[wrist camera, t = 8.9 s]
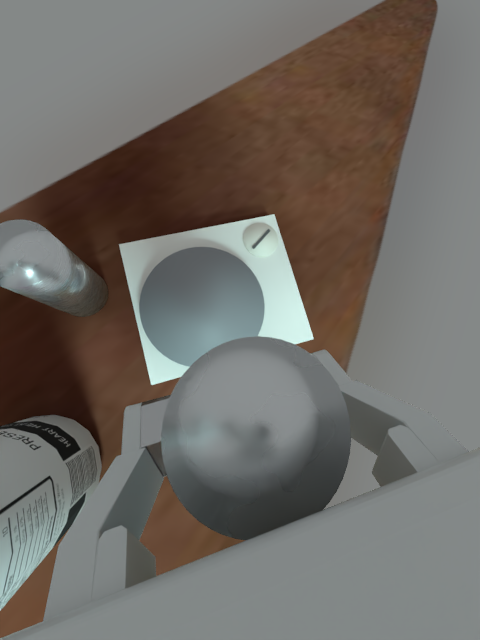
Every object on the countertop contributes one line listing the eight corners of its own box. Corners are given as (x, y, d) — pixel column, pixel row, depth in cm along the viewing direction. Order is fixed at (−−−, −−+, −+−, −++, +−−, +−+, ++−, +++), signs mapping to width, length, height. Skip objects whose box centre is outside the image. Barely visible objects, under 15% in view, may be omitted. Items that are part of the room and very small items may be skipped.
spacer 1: (63, 321, 23) (-18, 295, 14) (54, 277, 23) (-29, 226, 15) (112, 310, 23) (63, 279, 15) (103, 267, 24) (50, 213, 16)
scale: (154, 383, 23) (148, 385, 20) (123, 251, 24) (115, 238, 22) (307, 340, 25) (318, 337, 23) (270, 222, 27) (277, 208, 24)
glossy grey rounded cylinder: (198, 446, 13) (188, 574, 5) (179, 366, 14) (141, 364, 6) (274, 421, 14) (376, 498, 6) (253, 346, 15) (317, 316, 6)
